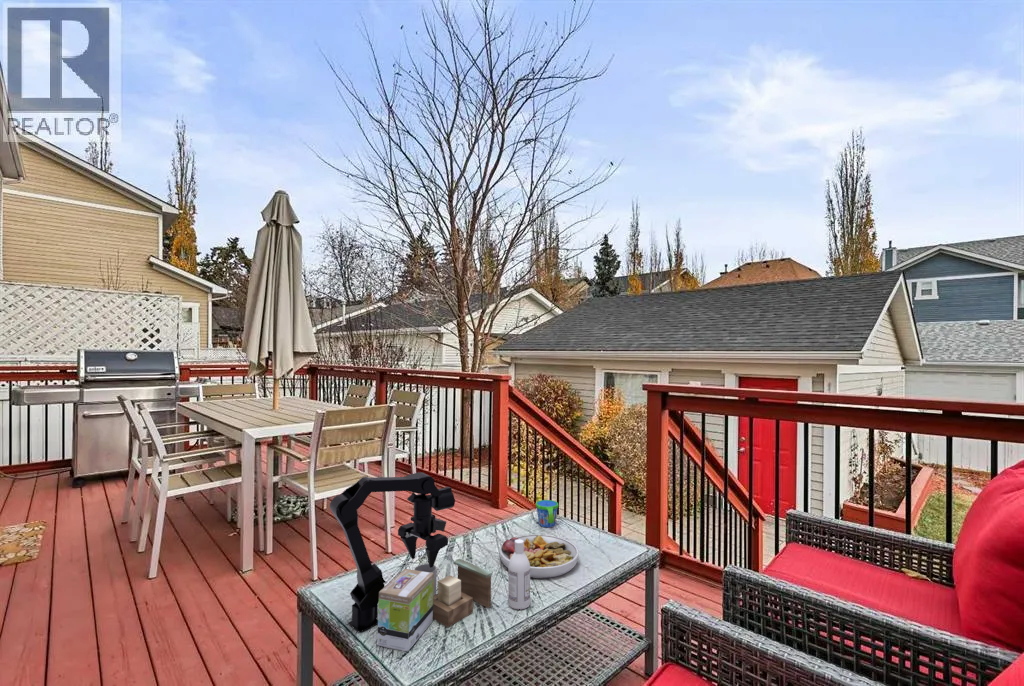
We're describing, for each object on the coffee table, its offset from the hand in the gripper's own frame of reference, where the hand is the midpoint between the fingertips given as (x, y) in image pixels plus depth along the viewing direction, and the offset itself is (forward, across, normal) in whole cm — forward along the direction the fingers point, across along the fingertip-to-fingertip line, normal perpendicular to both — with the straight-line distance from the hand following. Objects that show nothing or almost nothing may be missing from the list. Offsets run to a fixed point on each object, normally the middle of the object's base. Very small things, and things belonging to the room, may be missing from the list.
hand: (422, 562), depth 147 cm
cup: (+13, +4, -4) cm, 14 cm away
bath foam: (+13, -24, -20) cm, 34 cm away
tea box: (+13, -9, +12) cm, 20 cm away
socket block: (+13, -11, -5) cm, 18 cm away
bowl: (+13, -10, -48) cm, 51 cm away
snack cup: (+13, +10, -81) cm, 83 cm away
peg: (+13, -11, -2) cm, 17 cm away
